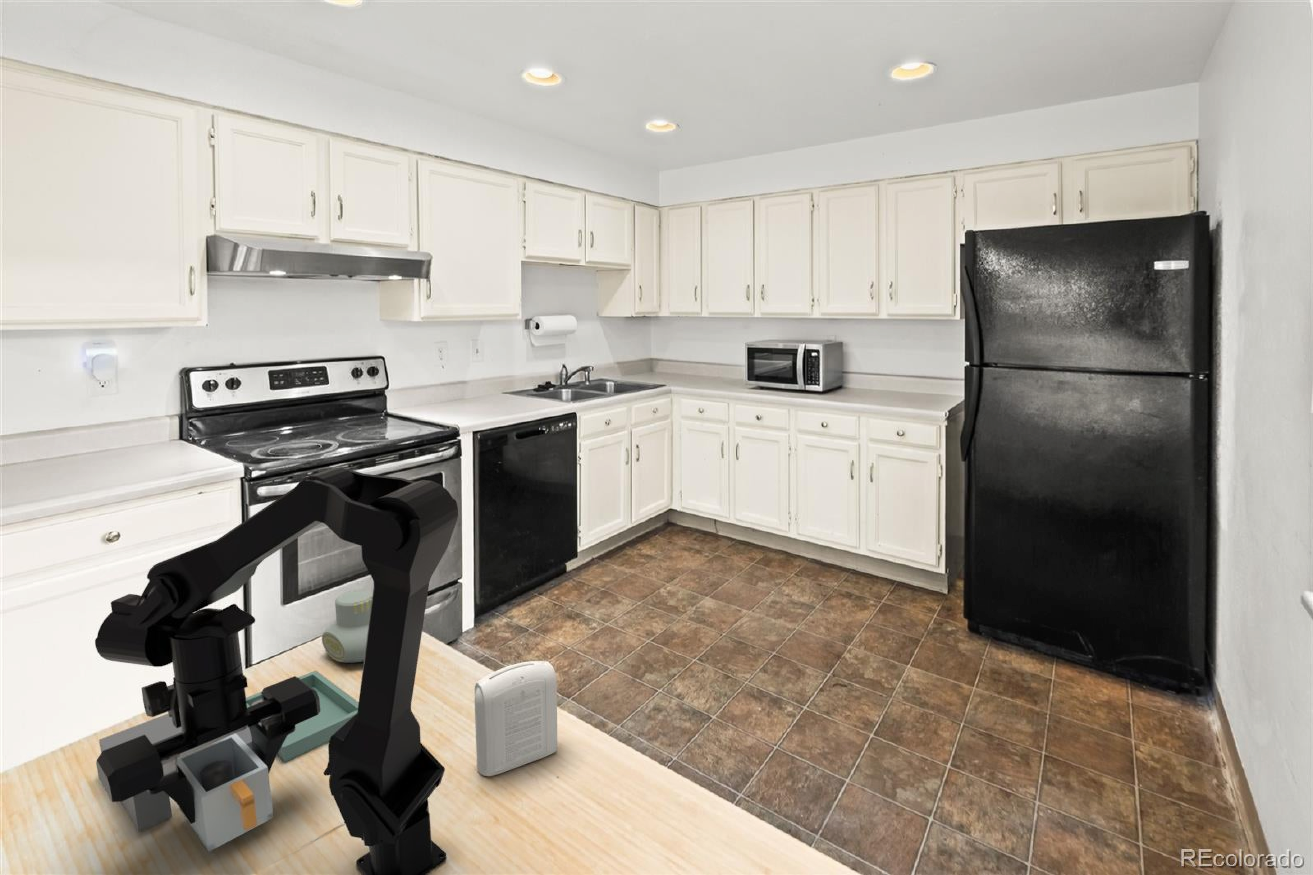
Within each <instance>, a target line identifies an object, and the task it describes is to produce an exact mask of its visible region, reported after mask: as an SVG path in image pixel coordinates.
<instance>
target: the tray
mask: <svg viewBox="0 0 1313 875" xmlns="http://www.w3.org/2000/svg"><path fill="white" fill-rule="evenodd" d="M298 678H300V679H302V680H303V681H304V682H305V683H307V684H308V685H309V686H310V687H312V688H313V689H314V690H315V691H317V694H318V696H319V700H320V712H319V714H318V715H316V716H314V717H312V718H310V719H307V720H305V721H303V722H301V723H298V724H296V725H295V731H294V732H293V733H291V734H289V735H288V736H287V737H286V739H285V741H284V743H283V744H282V746H281V748H280V750H279V752H278V754H277V756H278V757H279V759H281V761H283V763H284V764H286V763H288V762H289V761H292V760H294V759H296V758H298V757H300V756H302V755H304V754H307V753H309V752H311V751H313V750H315V749H317V748H319V747H321V746H323V745H325V744H327V743H328V744H329V741H330V737H331V736H332V735H333V734H334V733H335V732H336V731H338V730H339V729H340V728H341V727H342V726H343V725H344V724H345V723H346V722H347V721H349V720H350V719H351V718H352V717H353V716H354V715H355V714H356V713H357V712H358V704H359V700H356V699H355V698H354V697H352V696H351V695H349V693H347V692H346V691H344V690H343V689H341V687H339V686H338V685H336V684H335V683H333V682H332V681H331V680H329V679H328V678H327V677H326V676H324V675H323V674H322V673H320V672H319V671H318V670H313V671H311V672H309V673H306V674H304V675H301V676H298ZM261 692H262V691H260V692H257V693H255V694H253V695H249V696H247V697H246V703H247V708H248V707H250V706H251V705H252V703H254V702H255V701H257V700H260V699H262V695H261Z"/></svg>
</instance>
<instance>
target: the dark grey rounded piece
mask: <svg viewBox="0 0 1313 875" xmlns="http://www.w3.org/2000/svg"><path fill="white" fill-rule="evenodd" d="M200 774H201V782H202V787H203V788H204V790H205V791H206V792H208V791H210V790H212V789H214V788H216V787H219V786H221V785H223V784H225V783H227V782H229V781H231V780H233V771H232V764H231V762H230V761H227V760H222V761H217V762H214V763H211V764H209V765H207V766H206V767H205V768H203V769H202V771H201V773H200Z"/></svg>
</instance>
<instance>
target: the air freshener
mask: <svg viewBox="0 0 1313 875" xmlns="http://www.w3.org/2000/svg"><path fill="white" fill-rule="evenodd" d="M372 596H373V591H372V590H370V589H366V588H365V589H364V588H363V589H359V588H358V589H353V590H348V591H345V592H343V593H341V594H339V595H338V596H337V597H336V598H335V600H334V605H335V606H334V607H335V617H336V619H335V620H334V622H332V623H330V625H328V627H326V629H325V630H324V632H323V633H322V635H321V644H322V646H323V648H324V650H325V651H326V653H327V655H328V656H329V657H331V659H332V660H334V661H335V662H339V663H345V664H346V663H347V664H348V663H349V664H356V663H363V662H364V658H365V650H366V642H367V634H368V627H369V619H370V611H371V603H372Z"/></svg>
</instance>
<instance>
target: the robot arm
mask: <svg viewBox="0 0 1313 875" xmlns="http://www.w3.org/2000/svg"><path fill="white" fill-rule="evenodd" d="M458 517H459V506H458V503H457V500H456V499H455V498H453V496H452V494H450V492H449V490H447V489H446V488H445V487H444V486H443V485H442V484H440V483H437V482H435V481H433V480H426V479H422V480H419V481H413V480H411V479H408V478H403V477H397V476H388V475H387V476H386V475H379V474H369V473H368V474H367V473H363V472H360V471H356V470H354V469H349V468H345V467H340V466H339V467H338V466H335V467H332V468H329V469H326V470H323V471H320V472H317V473H314V474H311V475H308V476H305V477H303V478H302V479H300V480H299V482H298V483H297V485H296V486H294V487H293V488H292V489H290V490H289V491H287V492H286V493H284V494H282V496H280V497H279V498H277V499H276V500H274V501H273V502H271V503H270V504H268V505H267V506H265V507H264V508H262V509H261V510H259V511H258V512H256V513H254V514H253V515H252V516H250V517H249V518H247V519H246V520H244V521H243V522H241V523H239V525H236V526H235V527H234V528H232V529H231V530H229V531H228V532H227V533H225V534H223V535H222V536H220V537H219V538H218V539H216V540H213V541H211V542H208V543H206V544H203V545H201V546H198V547H196V548H194V549H190V550H188V551H185V552H183V553H180V554H177V555H175V556H173V557H170V558H167V559H165V560H162V561H160V562H157V563H155V564H154V565H152V567H151V568H150V569H149V570H148V572H147V575H146V578H147V580H148V583H147V585H146V586H145V588H144V589H143V591H142V594H141V595H140V594H134V593H133V594H132V593H128V594H126V595H124V596H121V597H118V598H116V599H113V600H111V602H110V607H111V612H110V613H109V614H108V615H107V616H106V617H105V619H104V620H103V622H102V623H101V625H100V626H99V630H98V632H97V637H96V638H95V640H94V645H95V649H96V651H97V654H99V656H100V657H101V658H103V659H104V660H106V661H111V662H117V663H124V664H132V665H139V666H148V667H153V668H154V667H156V668H160V667H165V666H168V665H170V664H172V670H173V676H174V677H173V682H172V684H169V685H167V682H166V681H163V680H160V681H157V682H154V683H151V684H148V685H145V686H142V687H141V696H142V703H143V707H144V708H143V709H144V711H145V714H146V716H147V717H150V718H156V717H157V716H160V715H164V714H165V713H167V714H169V717H172V721H173V725H174V726H175V727H176V728H179V727H182V734H181V735H178V736H176V737H173V738H171V739H168V740H166V741H164V742H161V743H159V744H156V745H154V746H153V745H152V743H151V742H150V741H149V739H148V738H147V737H146V735H142V736H140V737H137V738H135V739H132V740H129V741H127V742H124V743H122V744H119V745H117V746H114V747H112V748H109V749H106V750H104V751H102V753H101V752H100V754H99V756H98V757H97V759H96V761H95V764H96V770H97V774H98V775H97V777H98V780H99V782H100V783H101V784H102V786H103V788H104V790H105V792H106V794H107V795H108V796H109V799H110V800H111V803H119V802H120V803H121V802H122V801H124V800H126V799H129V798H131V797H133V796H135V795H138V794H140V793H142V792H144V791H148V793H149V794H157V793H159V792H162V791H164V792H165V793H166V794H167V795H168V796H169V797H170V799H172V800H173V801H174V802H175V804H176V805H177V806H178V808H180V809H181V811H182V812H183V814H184V815H185V816H184V815H183V814H182V815H183V816H184V818H185V817H186V818H187V819H186V818H185V819H186V820H188V821H189V822H190V824H192V823H194V822H195V809H194V805H193V801H192V797H191V793H190V789H189V785H188V781H187V777H186V775H185V774H184V773H183V771H182V770H181V769H180V767H179V766H178V765H177V759H178V758H179V757H181V756H183V755H185V754H188V753H190V752H192V751H195V750H197V749H200V748H202V747H204V746H207V745H209V744H211V743H214V742H216V741H218V740H221V739H223V738H226V737H228V736H230V735H233V734H235V733H237V732H240V731H242V730H244V729H247V728H248V727H249V729H250V733H251V737H252V751H253V752H254V753H255V754H256V755H257V756H258V757H259V758H260V759H261V760H262V761H263V763H264V764H265V765H266V766H267V767H268V774H270V772H271V770H272V766H273V765H274V762H275V759H276V758H277V756H278V755H277V754H278V752H279V750H280V748H281V746H282V744H283V743H284V741H285V739H286V737H287V736H288V735H289V734H291V733H293V732H294V731H295V725H296V724H298V723H301V722H303V721H305V720H307V719H310V718H312V717H314V716H316V715H318V714H319V712H320V700H319V696H318V694H317V691H315V690H314V689H313V688H312V687H310V686H309V685H308V684H307V683H305V682H304V681H303V680H302V679H300V678H298V677H299V676H298V677H297V676H296V675H294V676H292V677H289V678H286V679H284V680H281V681H279V682H276V683H274V684H271V685H269V686H266V687H263V688H262V690H261V691H260V692H261V695H262V699H260V700H257V701H255V702H254V703H252V705H251V706H250V707H248V708H247V703H246V698H247V697H246V688H248V687H249V686H248V678H247V676H245V675H244V671H243V663H242V662H243V661H242V652H241V646H240V638H239V632H241V631H243V630H245V629H247V628H248V627H251V626H252V625H253V624H255V623H256V618H255V617H254V616H253V615H252V614H251V613H249V612H247V611H246V610H243V609H241V608H240V607H239V606H238V605H237V604H236V603H232V604H230V605H229V606H227V607H225V608H223V609H222V608H221V609H220V608H207V607H208V606H210V605H212V604H214V603H216V602H218V601H220V600H222V599H224V598H227V597H228V596H230V595H232V594H234V593H236V592H238V591H239V590H240V589H241V588H242V587H243V586H244V585H245V584H246V583H247V582H248V581H249V580H250V579H251V578H252V577H253V576H254V575H255V574H256V571H257V569H258V566H259V565H260V564H261V563H262V562H263V561H264V560H266V559H268V558H269V557H270V556H272V555H273V554H276V552H279V550H281V549H282V548H284V547H285V546H288V545H289V544H291V543H292V542H294V541H295V540H296V539H298V538H300V537H302V536H303V535H304V534H306V533H307V532H309V531H311V530H312V529H313V528H315V527H317V526H318V525H320V524H321V523H323V524H325V526H327V527H328V529H330V530H331V531H332V532H333V533H334V534H335V535H336V536H337V537H338V539H341V540H342V541H345V542H348V543H351V544H354V545H356V546H360V548H361V549H360V553H361V559H362V562H363V564H364V565H365V568H366V569H367V571H368V573H369V574H370V576H371V578H372V581H373V589H372V590H373V591H372V592H373V596H372V603H371V611H370V619H369V627H368V634H367V642H366V650H365V658H364V661H363V665H362V667H363V668H362V674H361V675H362V676H361V682H360V690H359V698H358V699H359V700H358V702H359V704H358V712H357V713H356V714H355V715H354V716H353V717H352V718H351V719H350V720H349V721H347V722H346V723H345V724H344V725H343V726H342V727H341V728H340V729H339V730H338V731H336V732H335V733H334V734H333V735H332V736H331V737H330V741H329V742H328V745H327V746H328V747H327V748H328V761H327V762H328V763H327V766H326V767H325V769H324V771H323V774H322V775H323V776H329V778H328V785H329V786H328V787H329V791H330V795H331V796H333V799H334V801H335V803H336V806H337V808H338V810H339V813H340V815H341V818H342V819H343V822H344V824H345V826H346V828H347V830H348V833H349V835H350V837H353V838H358V839H361V841H363V844H364V846H365V847H368V849H369V851H367V853H365V854H363V855H361V856H360V857H358V858H357V859H356V861H355V866H356V868H357V869H358V870H359V872H360V873H361V874H362V875H428V873H430V872H431V871H433V870H434V869H435V868H437V867H439V866H440V865H441V864H443V863H444V862H446V861H447V853H446V851H444V849H442V848H441V847H440V846H438V845H437V843H435V842H434V841H433V840H432V832H431V830H432V829H431V816H430V815H431V814H430V811H429V798H430V796H431V795H432V794H433V793H434V791H435V790H436V789H437V788H438V787H439V786H440V784H441V782H442V781H443V776H444V774H445V771H446V769H445V766H444V765H443V764H441V762H440V761H439V760H438V759H437V758H436V756H434V755H433V754H432V753H431V752H430V751H429V750H428V749H427V748H426V746H424V744H422V742H421V726H420V723H419V721H418V720H417V718H416V716H415V714H414V713H413V711H412V701H413V695H414V689H415V682H416V673H417V667H418V662H419V661H418V660H419V655H420V648H421V641H422V640H421V639H422V635H423V628H424V620H425V614H426V607H427V600H428V593H429V586H430V581H431V578H432V576H433V574H434V573H435V571H436V569H437V567H438V565H439V563H440V562H441V560H442V559H443V557H444V555H445V553H446V552H447V549H448V547H449V544H450V543H451V538H452V536H453V533H454V530H455V527H456V525H457V521H458V519H459V518H458ZM180 809H179V810H180ZM181 811H180V812H181ZM182 812H181V813H182ZM188 821H187V822H188ZM189 822H188V823H189ZM190 824H189V825H190Z"/></svg>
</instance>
